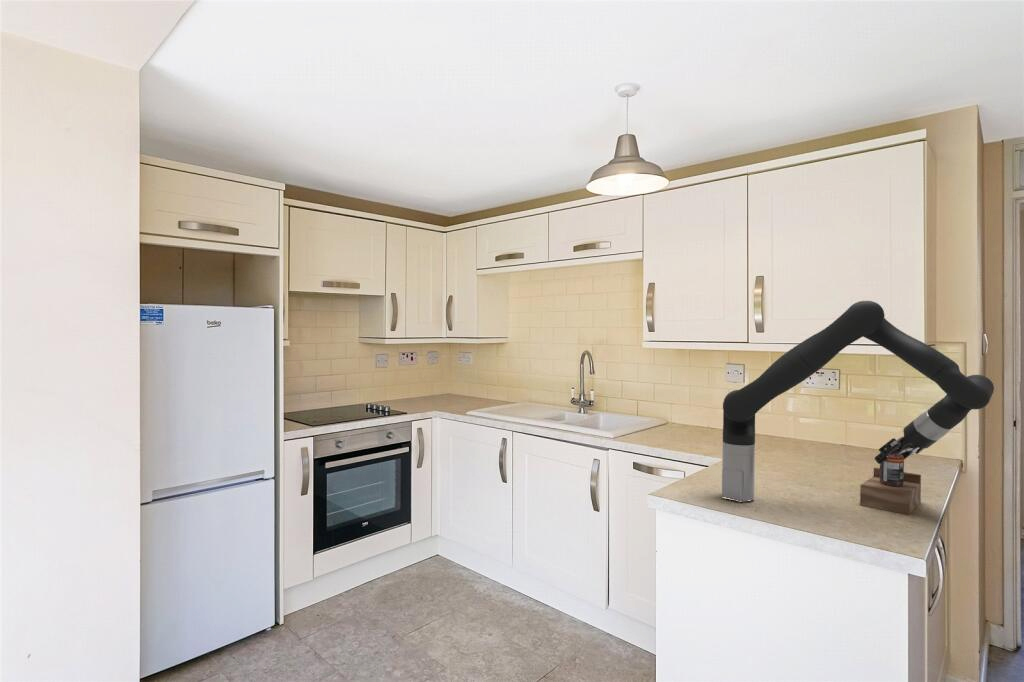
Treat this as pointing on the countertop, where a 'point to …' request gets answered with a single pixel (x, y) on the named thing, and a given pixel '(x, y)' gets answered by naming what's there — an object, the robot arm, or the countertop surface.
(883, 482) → the supplement bottle
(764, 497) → the countertop surface
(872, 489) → the walnut shelf
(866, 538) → the countertop surface
